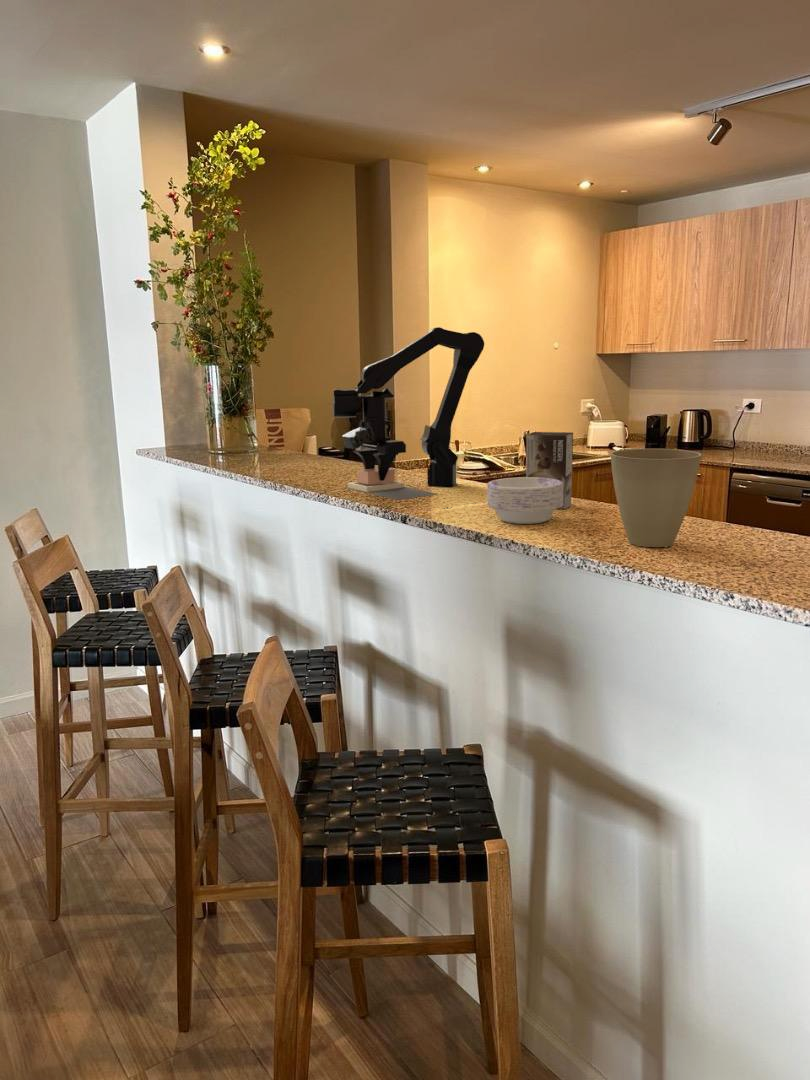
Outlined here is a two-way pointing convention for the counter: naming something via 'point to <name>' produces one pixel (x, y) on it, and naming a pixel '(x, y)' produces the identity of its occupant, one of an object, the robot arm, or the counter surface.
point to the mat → (389, 490)
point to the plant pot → (653, 492)
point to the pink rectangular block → (374, 476)
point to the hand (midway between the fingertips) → (375, 479)
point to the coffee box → (551, 459)
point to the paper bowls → (525, 498)
